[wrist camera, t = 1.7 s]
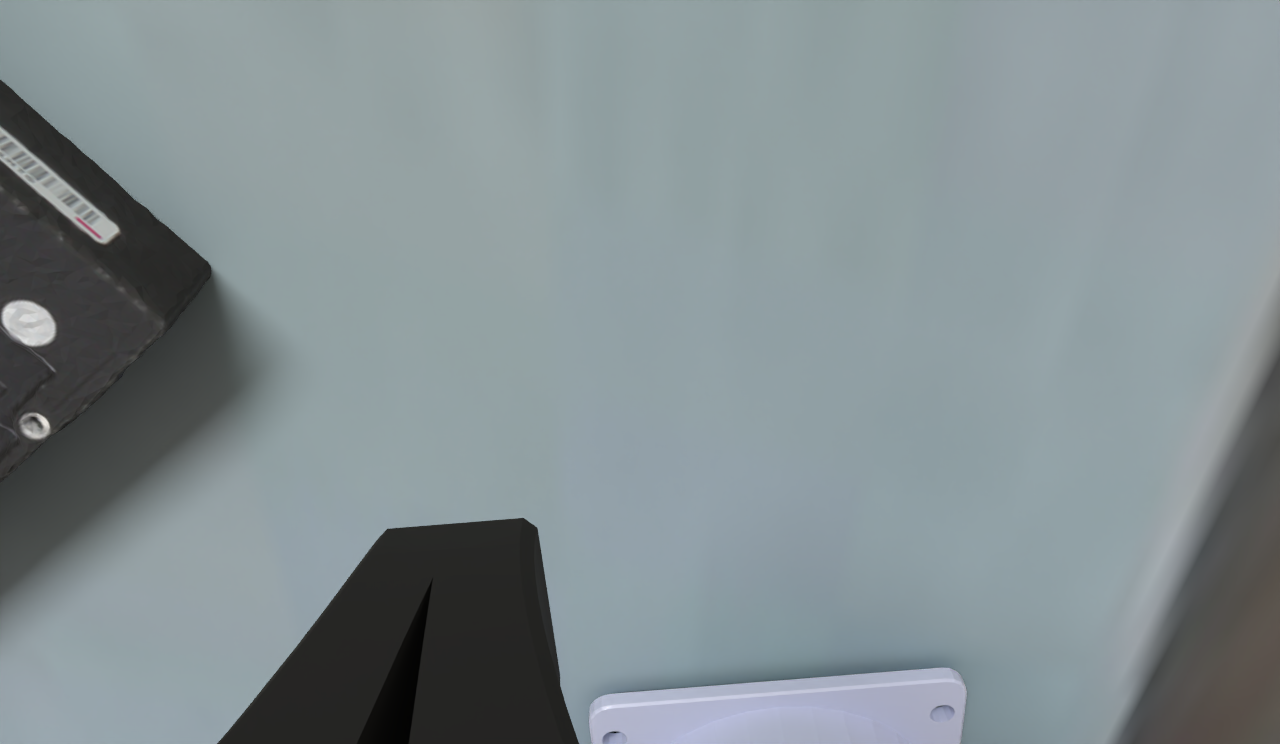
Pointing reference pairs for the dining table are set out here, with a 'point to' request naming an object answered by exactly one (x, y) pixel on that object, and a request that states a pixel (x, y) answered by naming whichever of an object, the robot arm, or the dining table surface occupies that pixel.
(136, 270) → the disk drive
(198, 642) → the dining table surface
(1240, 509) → the dining table surface
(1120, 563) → the dining table surface
